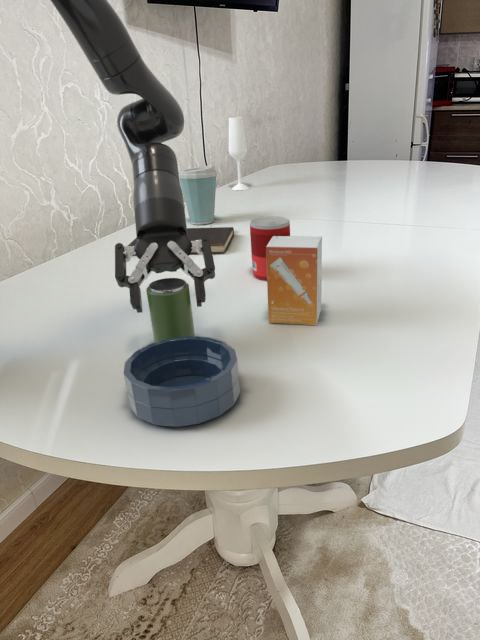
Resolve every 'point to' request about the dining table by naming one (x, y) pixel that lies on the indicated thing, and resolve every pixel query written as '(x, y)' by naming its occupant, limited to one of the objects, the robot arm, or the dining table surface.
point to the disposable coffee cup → (199, 193)
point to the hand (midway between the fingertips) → (169, 307)
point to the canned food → (265, 240)
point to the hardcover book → (217, 237)
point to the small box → (294, 279)
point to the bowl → (182, 380)
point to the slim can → (170, 309)
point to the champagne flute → (237, 146)
